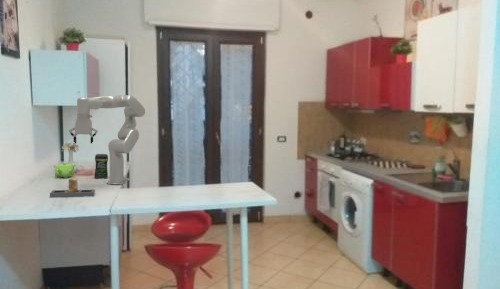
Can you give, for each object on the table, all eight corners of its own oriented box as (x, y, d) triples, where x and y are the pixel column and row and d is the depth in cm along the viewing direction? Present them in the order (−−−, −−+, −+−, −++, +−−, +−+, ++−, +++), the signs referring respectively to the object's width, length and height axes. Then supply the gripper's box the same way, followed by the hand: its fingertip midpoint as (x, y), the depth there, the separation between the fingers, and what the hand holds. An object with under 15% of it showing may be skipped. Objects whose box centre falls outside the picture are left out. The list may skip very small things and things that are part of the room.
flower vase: (79, 170, 341) (79, 141, 339) (78, 174, 323) (78, 143, 322) (62, 171, 336) (62, 141, 334) (60, 174, 319) (60, 143, 317)
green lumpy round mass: (71, 175, 316) (72, 161, 315) (77, 178, 305) (78, 163, 304) (51, 176, 306) (51, 162, 305) (56, 179, 295) (56, 164, 295)
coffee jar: (93, 178, 303) (93, 154, 302) (95, 177, 311) (95, 153, 310) (107, 178, 305) (107, 154, 304) (108, 177, 313) (108, 153, 312)
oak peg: (77, 194, 246) (77, 178, 245) (76, 196, 241) (76, 179, 241) (69, 194, 244) (69, 178, 243) (68, 196, 240) (68, 179, 239)
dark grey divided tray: (94, 193, 251) (94, 189, 250) (93, 196, 242) (93, 192, 242) (52, 194, 244) (52, 190, 244) (49, 197, 235) (49, 193, 235)
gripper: (98, 117, 265) (98, 142, 267) (69, 116, 260) (69, 142, 262) (97, 117, 258) (97, 143, 260) (68, 116, 253) (68, 143, 255)
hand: (83, 143), depth 261 cm, fingers open, 9 cm apart
